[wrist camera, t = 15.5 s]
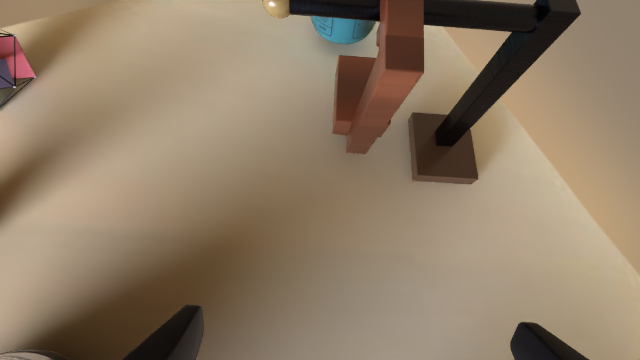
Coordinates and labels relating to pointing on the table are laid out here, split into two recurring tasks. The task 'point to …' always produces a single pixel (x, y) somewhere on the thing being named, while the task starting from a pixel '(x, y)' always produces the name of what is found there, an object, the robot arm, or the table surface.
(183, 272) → the table surface
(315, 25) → the beverage bottle
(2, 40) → the geometric puzzle
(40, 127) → the table surface
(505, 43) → the rack
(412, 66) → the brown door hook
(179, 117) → the table surface
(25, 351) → the supplement container
